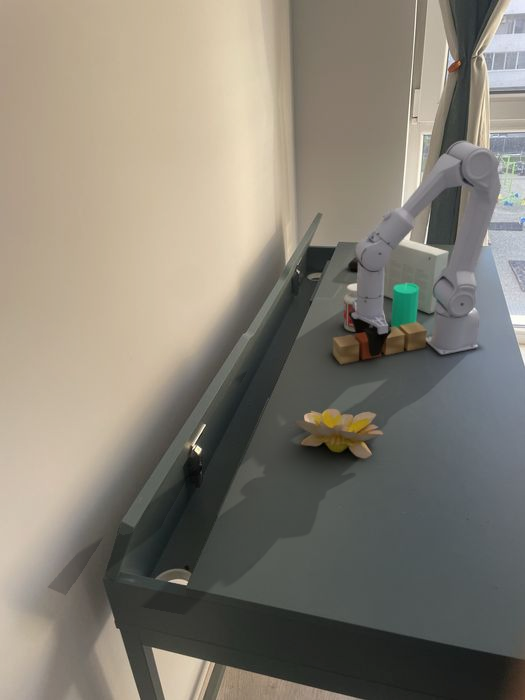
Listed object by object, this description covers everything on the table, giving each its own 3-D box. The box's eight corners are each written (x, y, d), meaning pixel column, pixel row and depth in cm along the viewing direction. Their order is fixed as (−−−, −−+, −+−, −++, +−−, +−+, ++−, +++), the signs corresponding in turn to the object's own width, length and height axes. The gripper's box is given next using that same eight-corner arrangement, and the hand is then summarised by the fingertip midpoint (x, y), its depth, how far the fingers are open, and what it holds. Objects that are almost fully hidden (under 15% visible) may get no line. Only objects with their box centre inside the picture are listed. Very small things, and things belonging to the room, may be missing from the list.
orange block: (372, 347, 124) (373, 330, 122) (380, 356, 120) (381, 338, 118) (354, 350, 123) (355, 333, 121) (362, 359, 120) (363, 342, 117)
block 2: (394, 342, 125) (395, 326, 123) (403, 351, 121) (404, 334, 119) (377, 346, 124) (377, 329, 122) (385, 355, 121) (386, 338, 118)
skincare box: (443, 308, 139) (450, 251, 131) (429, 315, 136) (435, 256, 128) (385, 285, 154) (387, 232, 146) (371, 291, 152) (373, 237, 144)
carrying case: (401, 264, 168) (357, 259, 174) (402, 255, 166) (357, 251, 173) (392, 276, 160) (346, 271, 166) (393, 267, 158) (346, 262, 164)
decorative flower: (395, 422, 96) (390, 384, 90) (380, 473, 89) (374, 436, 83) (317, 411, 103) (308, 375, 96) (298, 457, 96) (287, 421, 89)
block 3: (415, 338, 126) (417, 321, 124) (425, 347, 122) (426, 330, 120) (398, 342, 125) (399, 325, 123) (407, 350, 122) (408, 333, 119)
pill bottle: (373, 327, 132) (375, 287, 127) (355, 335, 130) (355, 294, 124) (356, 319, 137) (357, 279, 132) (338, 326, 134) (338, 286, 129)
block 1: (351, 351, 123) (351, 334, 121) (359, 360, 119) (359, 343, 117) (333, 354, 122) (333, 337, 120) (340, 364, 119) (340, 346, 116)
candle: (416, 321, 133) (420, 277, 127) (414, 333, 129) (418, 287, 123) (392, 319, 135) (395, 276, 129) (389, 330, 130) (392, 285, 125)
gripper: (340, 284, 120) (340, 336, 127) (366, 310, 108) (365, 366, 114) (369, 279, 121) (367, 331, 128) (398, 304, 109) (395, 360, 116)
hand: (368, 347), depth 121 cm, fingers open, 7 cm apart
